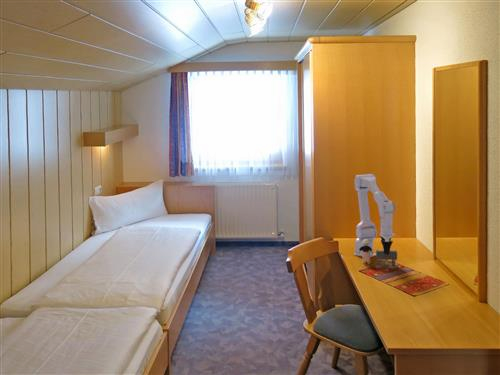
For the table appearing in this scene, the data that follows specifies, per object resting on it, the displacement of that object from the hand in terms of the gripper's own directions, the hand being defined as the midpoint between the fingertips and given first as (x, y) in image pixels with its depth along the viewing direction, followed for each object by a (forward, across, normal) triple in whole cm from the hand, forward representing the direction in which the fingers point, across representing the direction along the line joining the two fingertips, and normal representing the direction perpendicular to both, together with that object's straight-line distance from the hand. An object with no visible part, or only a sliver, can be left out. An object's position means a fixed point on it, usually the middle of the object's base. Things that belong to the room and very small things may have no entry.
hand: (386, 252), depth 266 cm
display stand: (+7, 0, 0) cm, 7 cm away
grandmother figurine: (+8, +5, +10) cm, 14 cm away
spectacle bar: (+3, 0, 0) cm, 3 cm away
